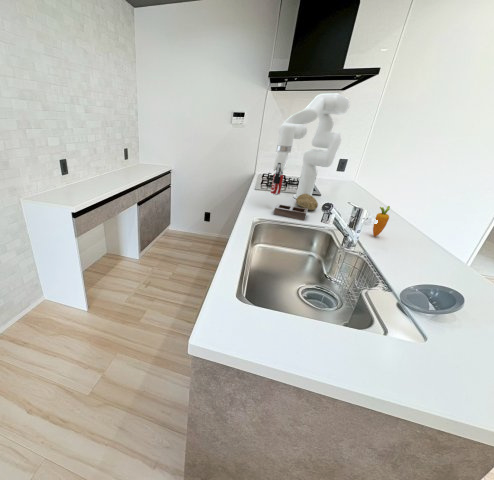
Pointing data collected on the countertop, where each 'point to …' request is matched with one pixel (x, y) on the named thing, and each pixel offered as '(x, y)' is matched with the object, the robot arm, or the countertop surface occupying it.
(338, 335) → the countertop surface
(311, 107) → the robot arm
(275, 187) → the soda can
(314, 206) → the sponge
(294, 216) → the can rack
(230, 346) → the countertop surface
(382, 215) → the carrot
